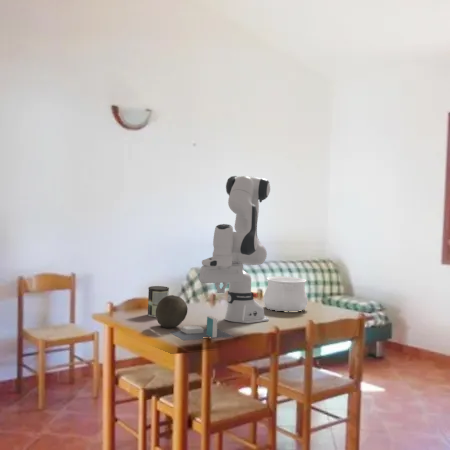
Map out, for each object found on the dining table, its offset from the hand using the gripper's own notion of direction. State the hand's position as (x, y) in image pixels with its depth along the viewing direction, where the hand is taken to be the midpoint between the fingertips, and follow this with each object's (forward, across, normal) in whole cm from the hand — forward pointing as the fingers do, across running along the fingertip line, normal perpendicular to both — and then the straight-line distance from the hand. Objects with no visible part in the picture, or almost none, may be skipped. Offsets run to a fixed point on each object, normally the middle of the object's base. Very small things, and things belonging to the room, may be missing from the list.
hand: (220, 292), depth 279 cm
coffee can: (+19, +10, -50) cm, 55 cm away
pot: (+19, -65, -49) cm, 84 cm away
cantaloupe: (+20, +14, -21) cm, 32 cm away
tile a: (+18, +5, -8) cm, 20 cm away
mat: (+19, +7, -4) cm, 21 cm away
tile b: (+19, +4, +1) cm, 19 cm away
